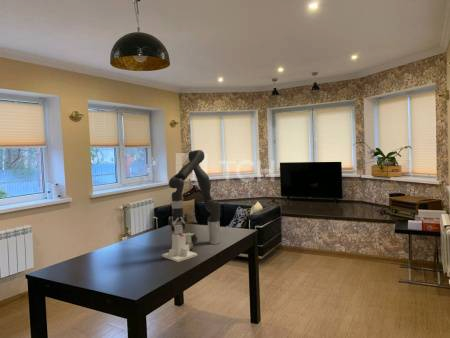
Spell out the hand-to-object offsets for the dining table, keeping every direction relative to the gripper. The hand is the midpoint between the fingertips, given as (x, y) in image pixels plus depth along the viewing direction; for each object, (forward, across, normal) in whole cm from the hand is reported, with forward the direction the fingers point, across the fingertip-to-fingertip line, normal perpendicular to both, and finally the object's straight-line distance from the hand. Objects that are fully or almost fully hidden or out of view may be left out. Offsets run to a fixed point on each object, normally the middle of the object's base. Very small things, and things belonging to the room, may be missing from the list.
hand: (178, 230), depth 231 cm
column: (+16, 0, 0) cm, 16 cm away
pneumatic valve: (+18, -17, -9) cm, 26 cm away
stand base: (+18, 0, 0) cm, 18 cm away
